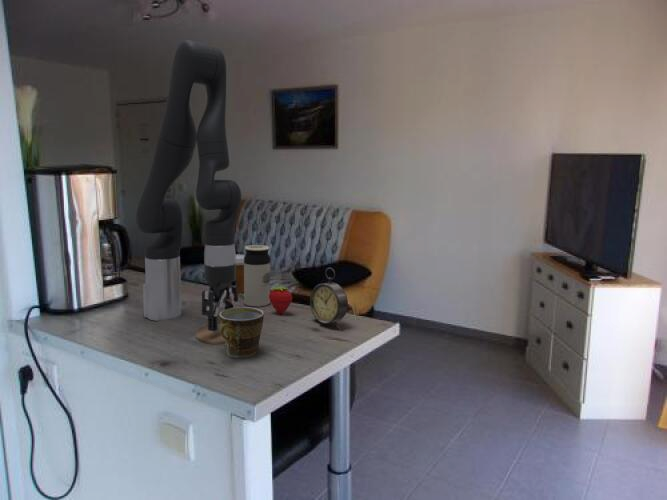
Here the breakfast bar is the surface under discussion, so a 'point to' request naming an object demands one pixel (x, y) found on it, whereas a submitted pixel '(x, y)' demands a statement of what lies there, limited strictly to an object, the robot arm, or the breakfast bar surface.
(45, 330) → the breakfast bar surface
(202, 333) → the lid
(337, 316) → the alarm clock
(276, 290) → the strawberry
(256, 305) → the travel mug
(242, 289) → the disposable coffee cup
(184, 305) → the breakfast bar surface
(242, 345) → the ceramic cup
